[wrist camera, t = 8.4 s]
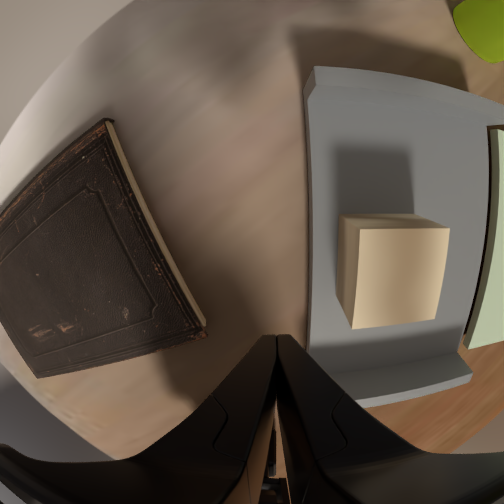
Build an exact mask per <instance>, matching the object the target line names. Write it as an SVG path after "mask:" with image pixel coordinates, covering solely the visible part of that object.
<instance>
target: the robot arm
mask: <svg viewBox="0 0 504 504" xmlns="http://www.w3.org/2000/svg"><path fill="white" fill-rule="evenodd" d="M276 401H277V410H278V417H279V424H280V431H281V437H282V444H283V451H284V458H285V464H286V471H287V478H288V485H289V492H290V498H291V504H504V451H503V452H496V453H479V454H437V453H430V452H426V451H423V450H421V449H419V448H417V447H415V446H413V445H412V444H410V443H409V442H407V441H406V440H404V439H403V438H402V437H400V436H399V435H397V434H396V433H395V432H393V431H392V430H390V429H389V428H388V427H386V426H385V425H384V424H382V423H381V422H380V421H378V420H377V419H376V418H374V417H373V416H372V415H371V414H369V413H368V412H367V411H366V410H365V409H363V408H362V407H361V406H360V405H359V404H358V403H357V402H356V401H355V400H354V399H353V398H352V397H351V396H350V395H349V394H348V393H346V392H345V390H344V389H343V388H342V387H341V386H340V385H339V384H338V383H337V382H336V381H335V380H334V379H333V378H332V377H331V376H330V375H329V374H328V373H327V372H326V371H325V370H324V369H323V368H322V367H321V366H320V365H319V364H318V363H317V362H316V361H315V360H314V359H313V358H312V357H311V356H310V355H309V354H308V352H307V351H306V350H305V349H304V348H303V347H302V346H301V345H300V344H299V343H298V342H297V341H296V340H295V339H294V338H293V337H292V336H291V335H290V334H279V335H277V338H276V335H262V336H261V337H260V339H259V340H258V341H257V342H256V343H255V345H254V346H253V347H252V348H251V349H250V350H249V352H248V353H247V354H246V355H245V356H244V357H243V359H242V360H241V361H240V362H239V363H238V364H237V365H236V367H235V368H234V369H233V370H232V371H231V372H230V373H229V375H228V376H227V377H226V378H225V379H224V380H223V381H222V382H221V384H220V385H219V386H218V387H217V388H216V389H215V390H214V391H213V392H212V393H211V395H209V396H208V398H207V399H206V400H205V401H204V402H203V403H202V404H201V405H200V406H199V407H198V408H197V409H196V410H195V411H194V412H193V413H192V414H191V415H189V416H188V417H187V418H186V419H185V420H184V421H182V422H181V423H180V424H179V425H177V426H176V427H175V428H174V429H172V430H171V431H170V432H168V433H167V434H166V435H164V436H163V437H162V438H160V439H159V440H158V441H156V442H155V443H154V444H152V445H151V446H149V447H148V448H147V449H145V450H144V451H142V452H140V453H138V454H137V455H135V456H132V457H129V458H126V459H122V460H113V461H100V462H99V461H98V462H47V461H41V460H36V459H33V458H30V457H27V456H25V455H23V454H21V453H19V452H18V451H16V450H15V449H13V448H11V447H10V446H9V445H6V444H3V443H0V481H1V482H2V483H3V484H4V485H5V486H6V487H7V488H8V489H9V490H11V491H12V492H13V493H14V494H15V495H16V496H18V497H19V498H20V499H22V500H23V501H24V502H25V503H26V504H290V499H289V493H288V487H287V481H286V478H279V479H277V478H269V477H274V476H275V475H276V431H275V430H274V429H272V425H273V419H274V413H275V405H276ZM0 504H4V503H3V502H1V501H0Z"/></svg>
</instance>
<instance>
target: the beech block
mask: <svg viewBox="0 0 504 504" xmlns="http://www.w3.org/2000/svg"><path fill="white" fill-rule="evenodd" d="M449 233H450V228H448V227H445V226H443V225H441V224H438V223H436V222H434V221H431V220H429V219H426V218H424V217H421V216H419V215H416V214H339V228H338V262H337V282H336V297H337V299H338V301H339V303H340V305H341V307H342V309H343V311H344V314H345V316H346V318H347V320H348V322H349V324H350V327H351V329H361V328H371V327H380V326H389V325H397V324H404V323H412V322H418V321H425V320H431V319H435V315H436V311H437V307H438V302H439V297H440V292H441V287H442V282H443V277H444V271H445V264H446V258H447V250H448V242H449Z"/></svg>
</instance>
